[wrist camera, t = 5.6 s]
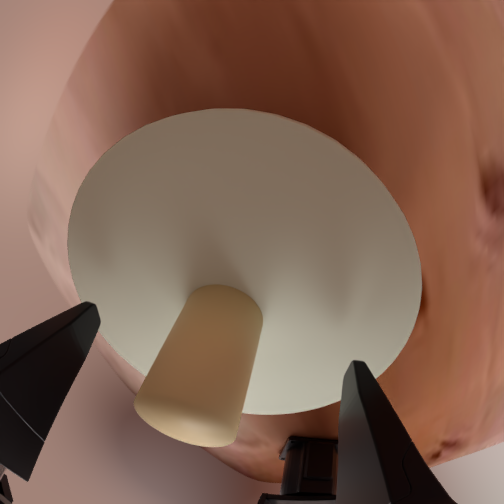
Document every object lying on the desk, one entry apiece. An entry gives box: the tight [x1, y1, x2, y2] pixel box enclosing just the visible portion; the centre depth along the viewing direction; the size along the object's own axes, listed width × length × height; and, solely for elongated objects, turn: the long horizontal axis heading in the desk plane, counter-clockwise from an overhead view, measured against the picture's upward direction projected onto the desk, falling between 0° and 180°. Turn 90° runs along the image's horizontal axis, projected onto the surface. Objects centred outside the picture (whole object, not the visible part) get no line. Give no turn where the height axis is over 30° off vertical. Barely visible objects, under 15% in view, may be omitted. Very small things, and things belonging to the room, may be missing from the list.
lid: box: [67, 108, 422, 447], centre depth 10 cm, size 14×14×7 cm
